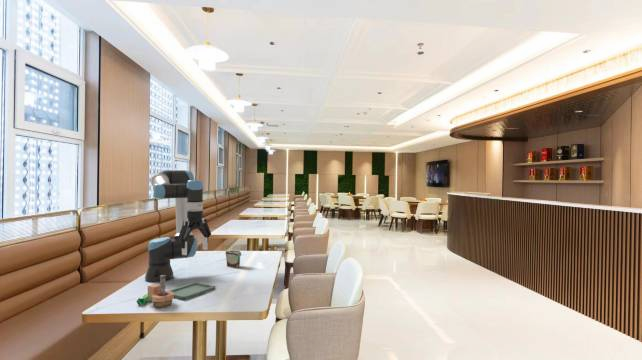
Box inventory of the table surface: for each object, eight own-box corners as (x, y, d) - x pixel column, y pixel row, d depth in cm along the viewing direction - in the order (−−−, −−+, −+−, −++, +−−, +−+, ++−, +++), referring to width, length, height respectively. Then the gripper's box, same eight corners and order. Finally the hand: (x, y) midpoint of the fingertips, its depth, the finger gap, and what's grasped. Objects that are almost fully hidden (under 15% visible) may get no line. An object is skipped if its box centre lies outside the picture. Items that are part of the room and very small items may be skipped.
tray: (184, 300, 171) (184, 297, 171) (163, 295, 179) (163, 292, 179) (215, 289, 189) (215, 286, 189) (195, 284, 196) (195, 281, 196)
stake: (149, 306, 164) (149, 276, 163) (164, 300, 171) (164, 272, 170) (160, 309, 160) (160, 279, 160) (175, 303, 167) (175, 275, 166)
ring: (160, 303, 159) (160, 292, 159) (142, 298, 166) (142, 287, 165) (177, 297, 167) (177, 286, 167) (159, 292, 173) (159, 282, 173)
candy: (149, 294, 177) (153, 288, 177) (154, 298, 177) (159, 292, 177) (135, 303, 165) (139, 296, 165) (141, 307, 165) (145, 300, 165)
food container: (245, 266, 236) (245, 251, 235) (238, 268, 230) (238, 253, 230) (232, 264, 242) (232, 249, 242) (225, 266, 237) (225, 251, 237)
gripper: (180, 213, 167) (180, 257, 168) (218, 208, 190) (218, 248, 190) (169, 212, 171) (169, 256, 171) (207, 208, 193) (207, 247, 193)
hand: (195, 252), depth 180 cm, fingers open, 13 cm apart
